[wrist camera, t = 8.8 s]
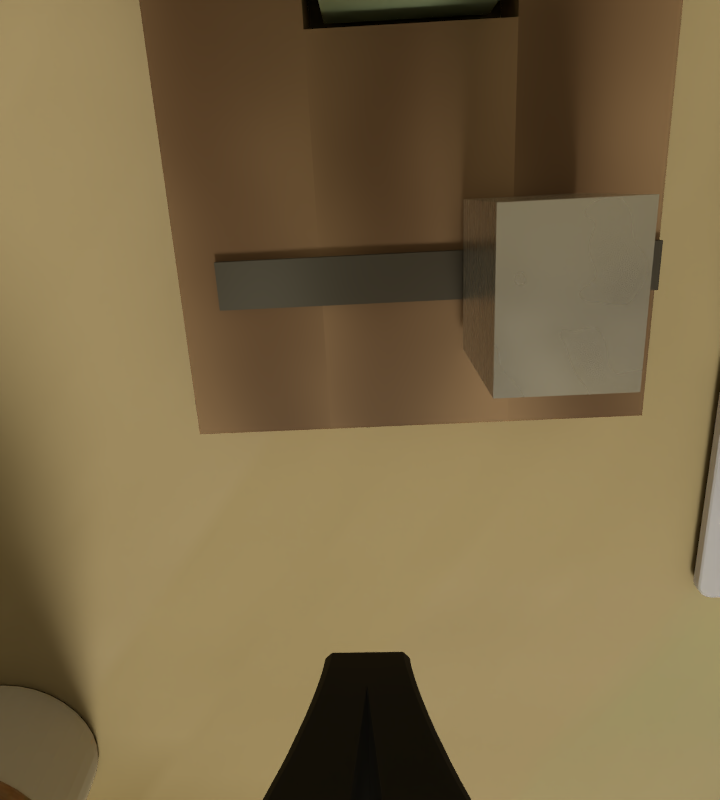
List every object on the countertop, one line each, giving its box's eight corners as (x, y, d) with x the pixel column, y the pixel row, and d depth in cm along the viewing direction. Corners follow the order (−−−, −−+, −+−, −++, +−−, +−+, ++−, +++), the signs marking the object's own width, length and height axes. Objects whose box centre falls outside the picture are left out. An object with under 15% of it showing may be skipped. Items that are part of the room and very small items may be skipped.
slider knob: (583, 192, 15) (659, 193, 11) (574, 343, 16) (639, 391, 12) (463, 199, 15) (496, 202, 11) (462, 348, 16) (493, 398, 12)
